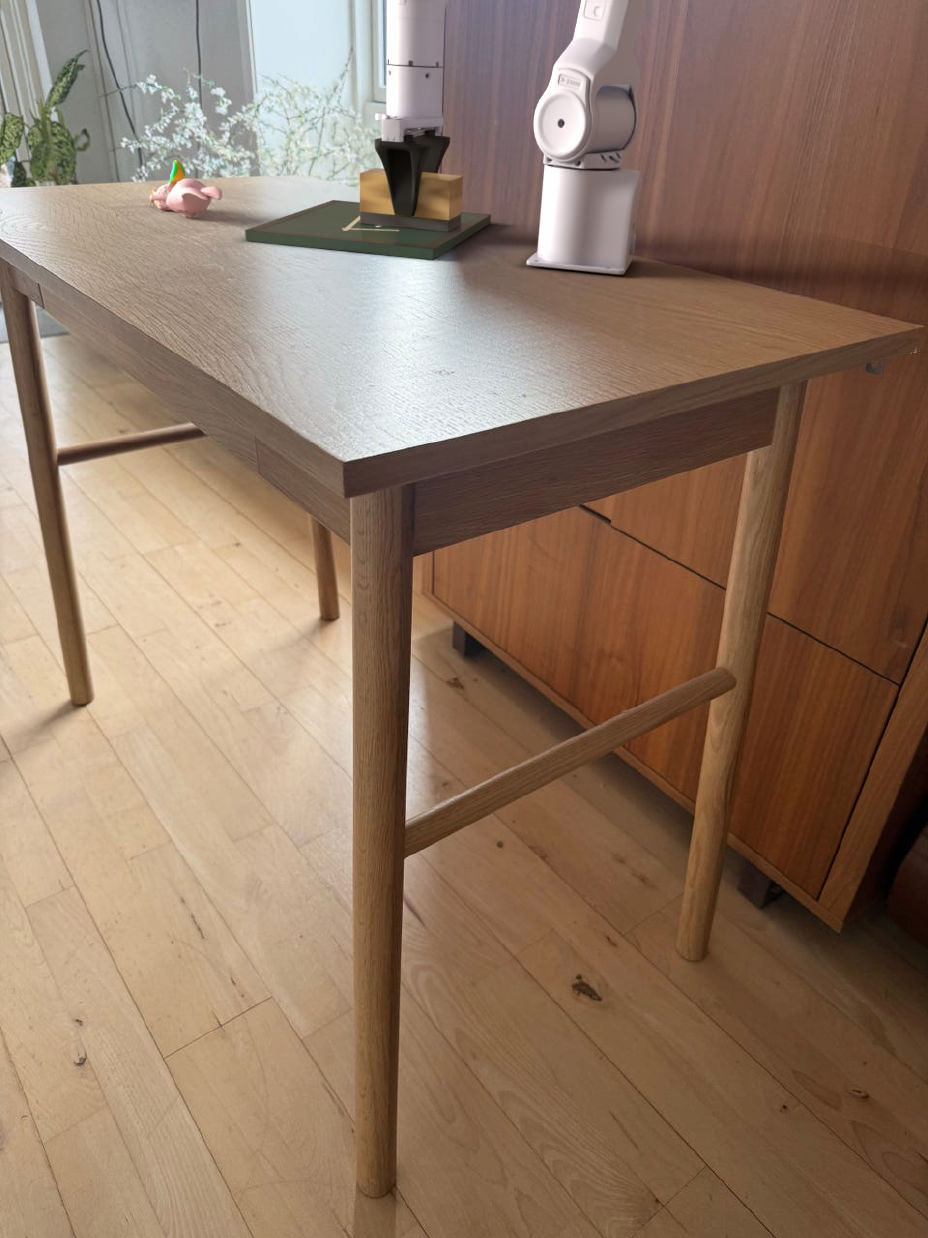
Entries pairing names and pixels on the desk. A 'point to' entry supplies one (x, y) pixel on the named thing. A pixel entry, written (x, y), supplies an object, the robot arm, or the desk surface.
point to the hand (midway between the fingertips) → (412, 211)
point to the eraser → (433, 206)
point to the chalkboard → (361, 232)
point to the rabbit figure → (184, 194)
